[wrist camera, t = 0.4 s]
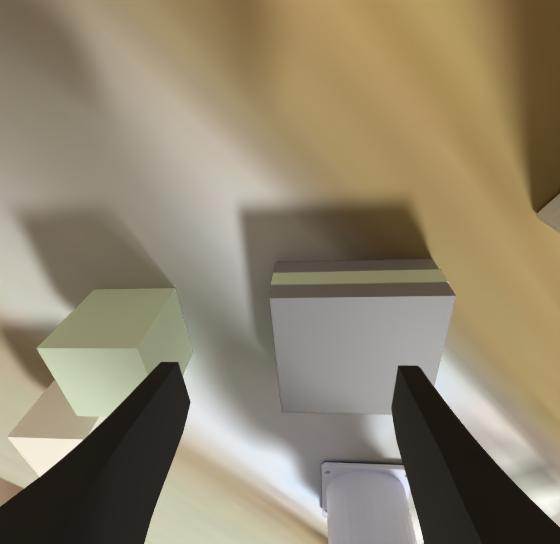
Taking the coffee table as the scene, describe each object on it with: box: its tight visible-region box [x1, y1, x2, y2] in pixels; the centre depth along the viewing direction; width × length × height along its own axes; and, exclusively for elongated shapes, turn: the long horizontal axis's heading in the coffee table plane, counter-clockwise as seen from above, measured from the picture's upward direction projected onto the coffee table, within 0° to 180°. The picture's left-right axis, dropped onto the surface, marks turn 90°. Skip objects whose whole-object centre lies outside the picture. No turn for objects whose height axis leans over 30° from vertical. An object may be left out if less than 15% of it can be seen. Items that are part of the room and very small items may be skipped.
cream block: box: [8, 380, 107, 477], centre depth 26 cm, size 6×6×6 cm
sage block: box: [36, 288, 193, 417], centre depth 21 cm, size 6×6×6 cm
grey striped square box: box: [270, 259, 456, 415], centre depth 21 cm, size 9×9×4 cm
